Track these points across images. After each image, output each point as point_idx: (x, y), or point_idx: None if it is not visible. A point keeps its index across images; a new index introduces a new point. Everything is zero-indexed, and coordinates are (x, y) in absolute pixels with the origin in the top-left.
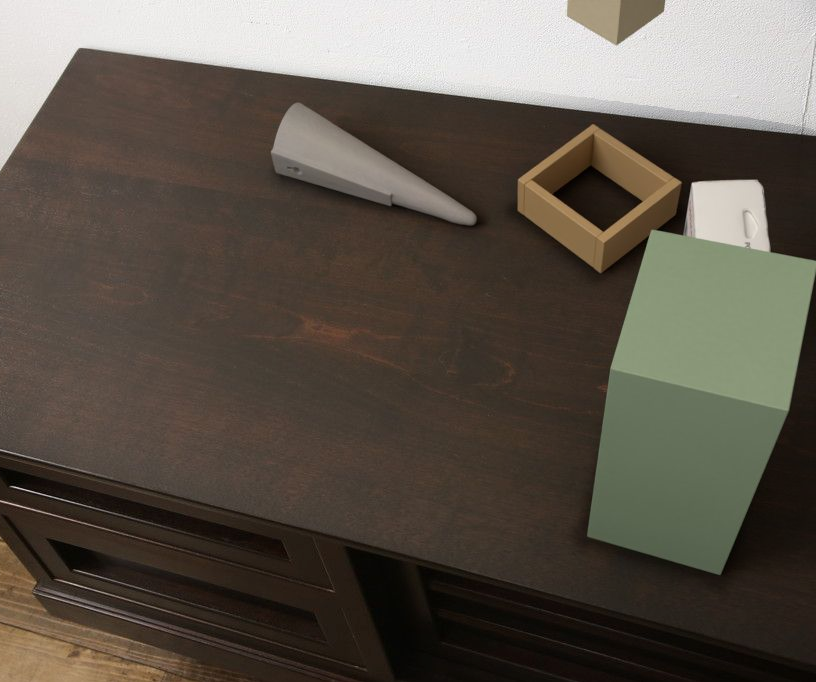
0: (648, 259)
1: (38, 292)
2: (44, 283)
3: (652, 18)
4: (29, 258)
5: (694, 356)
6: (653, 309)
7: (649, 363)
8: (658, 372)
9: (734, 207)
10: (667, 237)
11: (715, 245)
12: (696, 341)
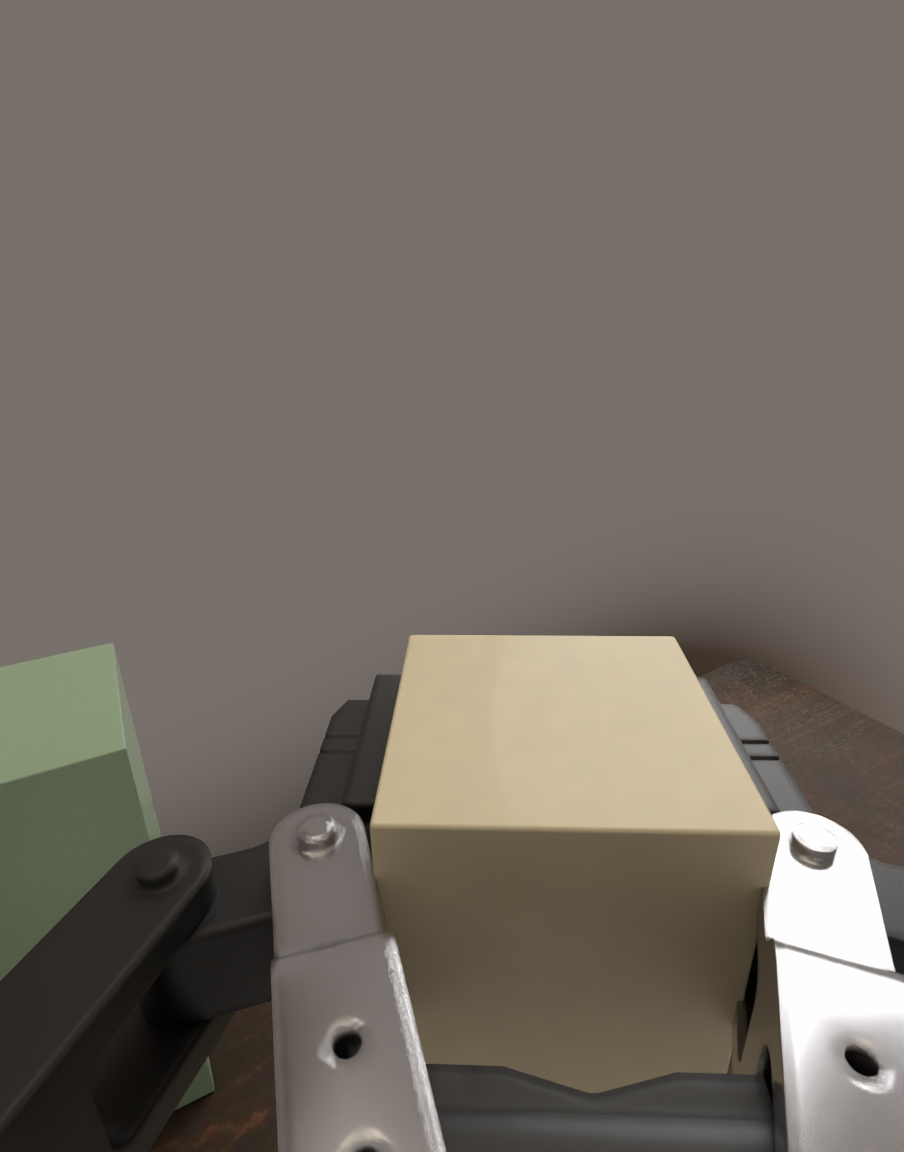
0: (114, 721)
1: (819, 763)
2: (830, 770)
3: None
4: (877, 774)
5: (22, 679)
6: (86, 690)
7: (72, 658)
8: (59, 657)
9: None
10: (98, 749)
11: (21, 773)
12: (23, 689)
